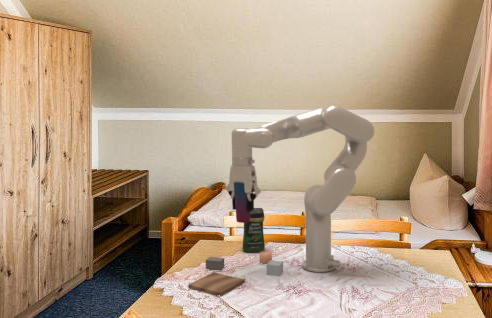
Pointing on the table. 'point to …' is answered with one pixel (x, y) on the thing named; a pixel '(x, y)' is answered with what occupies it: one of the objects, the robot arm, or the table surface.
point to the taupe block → (214, 263)
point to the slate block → (274, 268)
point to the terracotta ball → (265, 257)
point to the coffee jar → (254, 232)
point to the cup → (241, 203)
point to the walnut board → (216, 283)
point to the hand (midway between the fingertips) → (243, 209)
